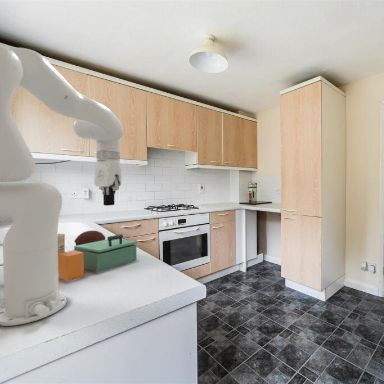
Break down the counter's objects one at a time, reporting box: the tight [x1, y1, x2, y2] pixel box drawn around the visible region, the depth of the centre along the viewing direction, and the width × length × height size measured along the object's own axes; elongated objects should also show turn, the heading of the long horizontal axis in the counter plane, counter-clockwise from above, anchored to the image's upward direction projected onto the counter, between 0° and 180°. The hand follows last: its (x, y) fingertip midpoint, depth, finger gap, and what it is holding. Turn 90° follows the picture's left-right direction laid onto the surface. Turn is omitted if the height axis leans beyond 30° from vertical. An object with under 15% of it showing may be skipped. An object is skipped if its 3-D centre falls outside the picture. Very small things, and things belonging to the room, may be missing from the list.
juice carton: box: [58, 249, 85, 282], centre depth 76 cm, size 6×4×8 cm
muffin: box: [74, 230, 107, 246], centre depth 102 cm, size 12×11×10 cm
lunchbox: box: [73, 244, 137, 272], centre depth 90 cm, size 16×15×7 cm
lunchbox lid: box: [73, 233, 139, 253], centre depth 90 cm, size 16×15×4 cm
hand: (109, 205), depth 88 cm, fingers closed
